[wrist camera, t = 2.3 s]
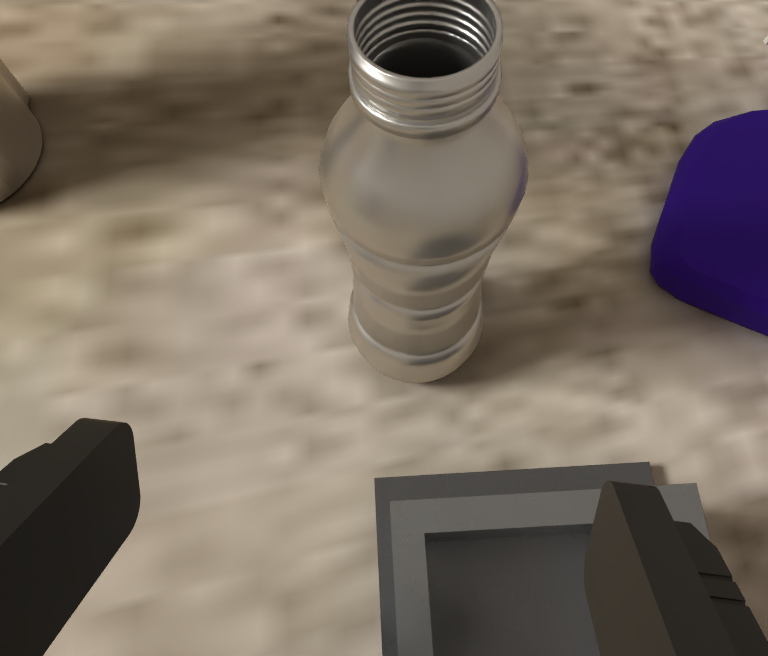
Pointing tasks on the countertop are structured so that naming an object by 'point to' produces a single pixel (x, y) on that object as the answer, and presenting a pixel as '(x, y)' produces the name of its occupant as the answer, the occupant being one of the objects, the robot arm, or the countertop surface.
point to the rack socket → (497, 558)
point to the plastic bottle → (422, 178)
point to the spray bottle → (719, 223)
